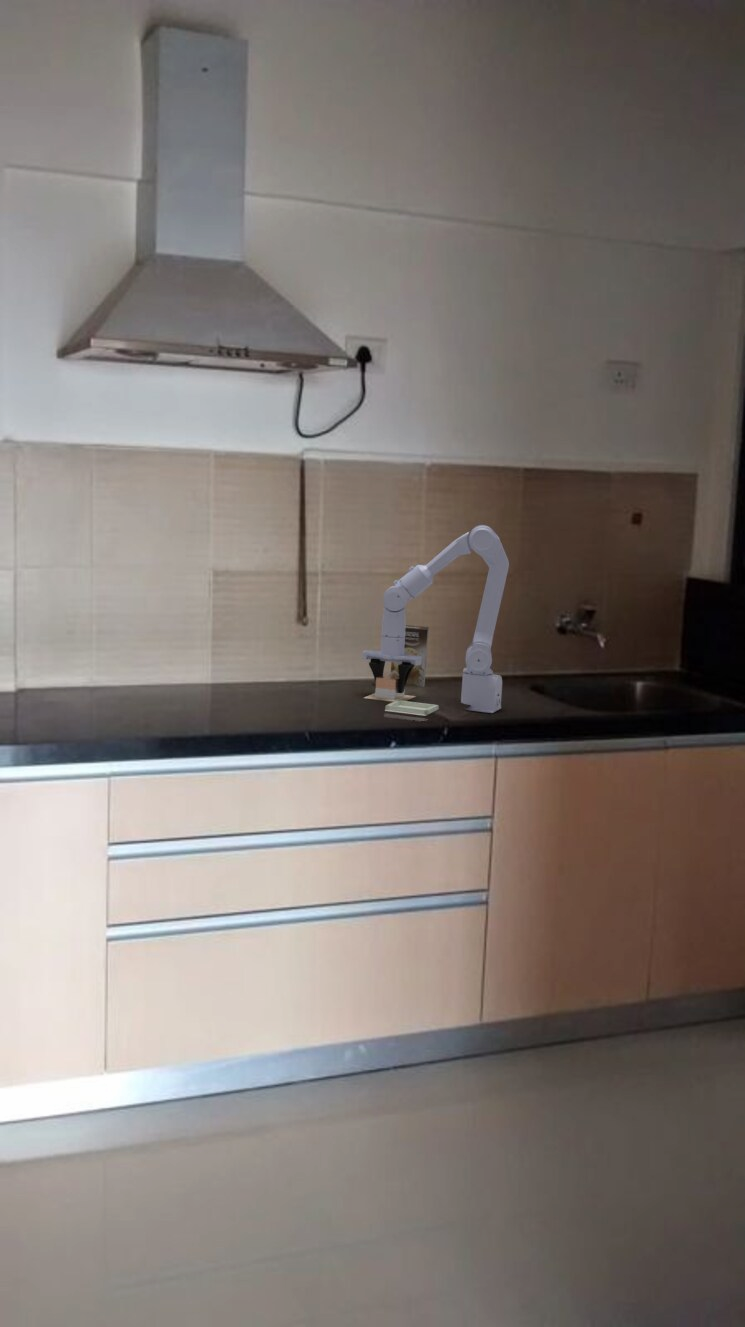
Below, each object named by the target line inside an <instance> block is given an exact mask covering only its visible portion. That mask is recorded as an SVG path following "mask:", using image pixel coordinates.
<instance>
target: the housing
mask: <svg viewBox="0 0 745 1327" xmlns="http://www.w3.org/2000/svg"><path fill="white" fill-rule="evenodd" d="M398 685H399V675H393V674H391V673H383V675H382V676H379V677H376V683H375V690H374V691H375V692H374V693H375V698H379V699H387V700H396V699H399V698H401V697H403V696H404V695H406V694H405V690H406V689H405V688H406V687H405V688H404V692H403V693H398Z"/></svg>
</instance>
